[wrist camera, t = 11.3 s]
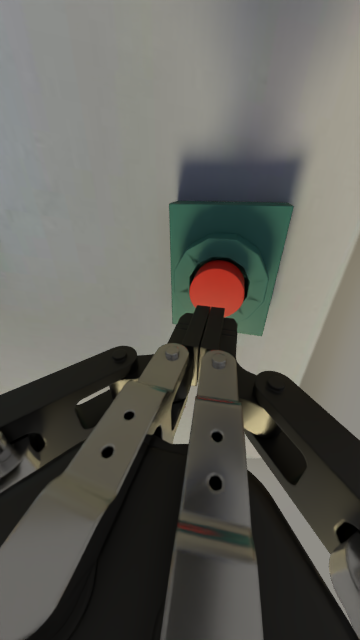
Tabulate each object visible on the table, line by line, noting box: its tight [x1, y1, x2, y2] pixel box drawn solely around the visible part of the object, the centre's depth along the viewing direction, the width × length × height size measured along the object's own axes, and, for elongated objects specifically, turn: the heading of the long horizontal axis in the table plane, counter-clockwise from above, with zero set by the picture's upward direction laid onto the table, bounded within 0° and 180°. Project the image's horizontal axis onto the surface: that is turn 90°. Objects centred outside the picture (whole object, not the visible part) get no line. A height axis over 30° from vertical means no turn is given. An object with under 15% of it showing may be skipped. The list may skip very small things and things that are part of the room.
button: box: [189, 260, 245, 317], centre depth 15 cm, size 4×4×2 cm
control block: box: [169, 201, 294, 336], centre depth 17 cm, size 10×8×4 cm
